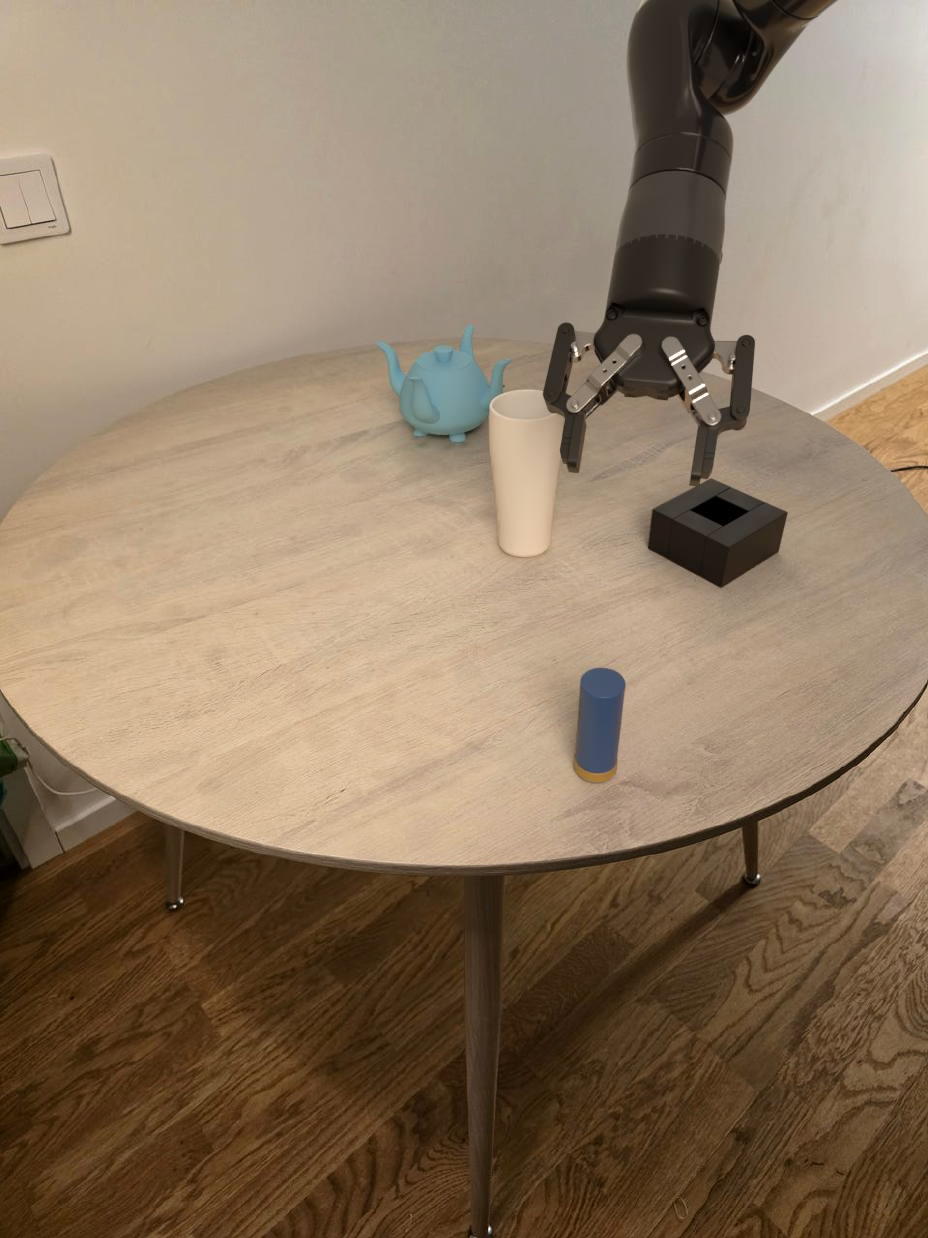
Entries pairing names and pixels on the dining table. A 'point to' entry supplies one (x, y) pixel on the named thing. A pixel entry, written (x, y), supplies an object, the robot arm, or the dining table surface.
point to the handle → (599, 724)
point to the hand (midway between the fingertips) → (633, 476)
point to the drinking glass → (524, 470)
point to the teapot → (444, 389)
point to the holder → (716, 531)
